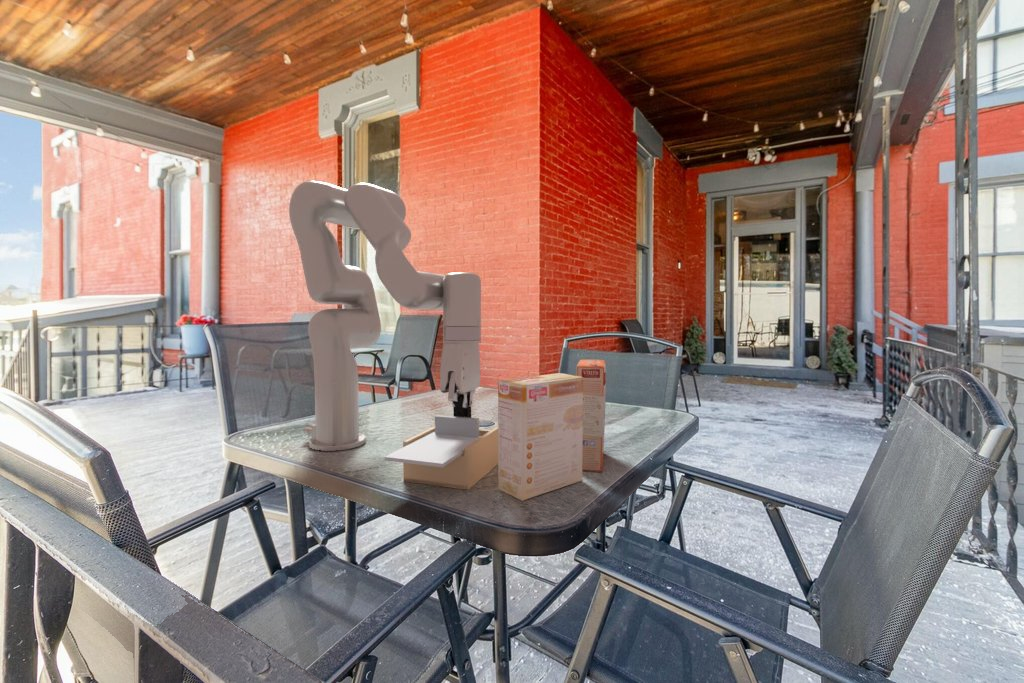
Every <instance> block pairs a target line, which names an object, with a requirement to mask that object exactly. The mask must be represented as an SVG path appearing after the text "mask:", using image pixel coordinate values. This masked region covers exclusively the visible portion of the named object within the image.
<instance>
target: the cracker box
mask: <svg viewBox="0 0 1024 683" xmlns="http://www.w3.org/2000/svg"><path fill="white" fill-rule="evenodd" d="M575 368H576V371H575V373H576V374H575V376H580V377H583V451H582V453H583V455H582V472H583V471H584V472H595V473H602V472H603V463H604V452H605V451H604V449H605V448H604V447H605V427H606V426H605V424H606V399H607V398H606V392H607V388H606V387H607V369H606V368H607V365H606V360H604V359H588V358H587V359H580V360H579V361H578V362H577V365H576V367H575Z"/></svg>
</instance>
